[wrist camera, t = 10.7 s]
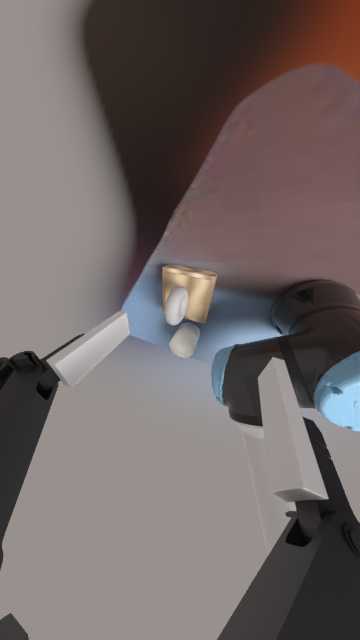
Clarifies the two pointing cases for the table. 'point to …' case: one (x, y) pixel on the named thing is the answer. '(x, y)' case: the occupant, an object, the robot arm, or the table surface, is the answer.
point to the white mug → (185, 340)
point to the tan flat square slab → (190, 289)
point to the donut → (176, 305)
